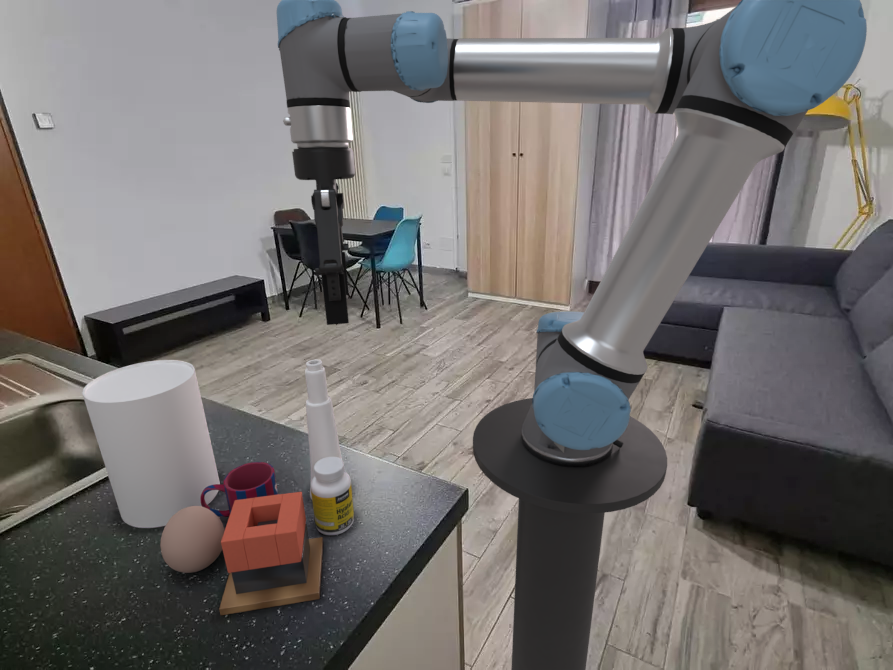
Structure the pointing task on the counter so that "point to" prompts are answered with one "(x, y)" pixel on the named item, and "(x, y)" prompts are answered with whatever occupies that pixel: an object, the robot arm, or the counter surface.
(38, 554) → the counter surface
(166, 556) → the egg
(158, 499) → the canister
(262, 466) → the cup
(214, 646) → the counter surface
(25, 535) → the counter surface
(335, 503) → the supplement bottle
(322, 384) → the cosmetic bottle
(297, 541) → the coral block
